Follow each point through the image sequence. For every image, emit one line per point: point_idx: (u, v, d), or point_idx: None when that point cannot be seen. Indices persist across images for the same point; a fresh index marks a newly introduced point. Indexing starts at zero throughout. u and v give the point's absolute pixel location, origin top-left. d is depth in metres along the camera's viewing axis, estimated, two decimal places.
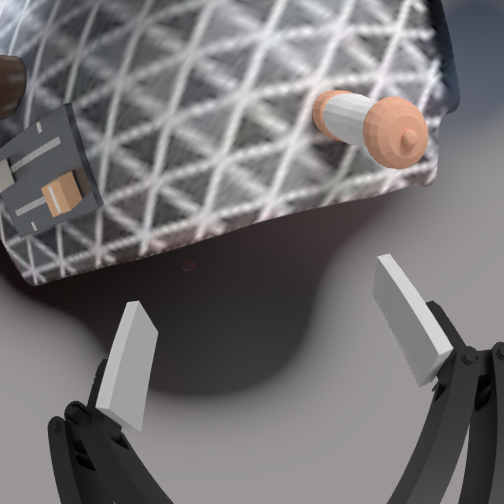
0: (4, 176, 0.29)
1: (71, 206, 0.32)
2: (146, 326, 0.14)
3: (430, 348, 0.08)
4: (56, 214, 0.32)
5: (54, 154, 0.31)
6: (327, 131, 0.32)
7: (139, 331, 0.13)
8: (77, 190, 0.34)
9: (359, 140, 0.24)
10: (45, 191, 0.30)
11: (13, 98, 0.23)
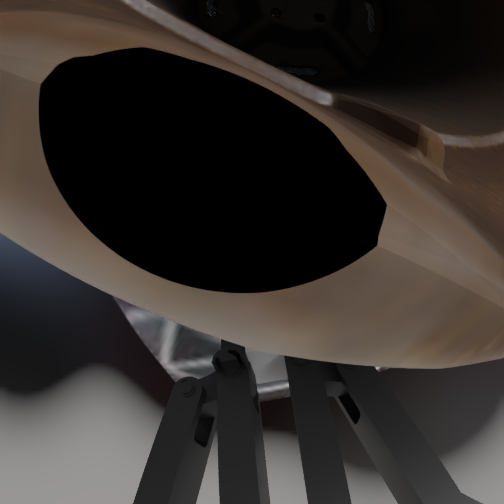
0: None
1: None
2: None
3: None
4: None
5: None
6: None
7: None
8: None
9: None
10: None
11: None
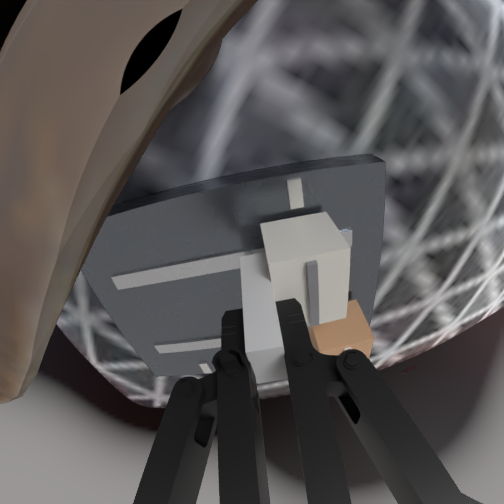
0: None
1: None
2: None
3: None
4: None
5: None
6: None
7: None
8: None
9: None
10: None
11: (202, 75, 0.11)
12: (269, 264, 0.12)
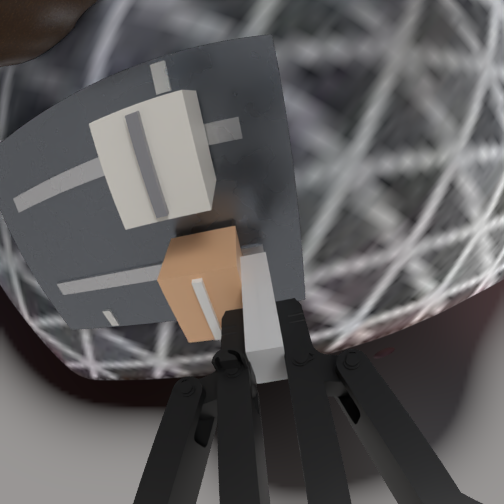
0: (204, 150, 0.11)
1: None
2: None
3: None
4: (202, 338, 0.15)
5: None
6: None
7: None
8: None
9: None
10: (174, 289, 0.13)
11: None
12: (90, 123, 0.08)
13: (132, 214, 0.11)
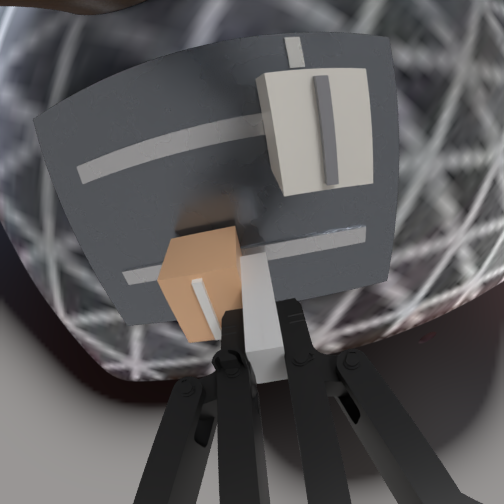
0: None
1: None
2: None
3: None
4: (202, 338, 0.15)
5: None
6: None
7: None
8: None
9: None
10: (174, 289, 0.13)
11: None
12: (266, 73, 0.08)
13: (297, 179, 0.10)
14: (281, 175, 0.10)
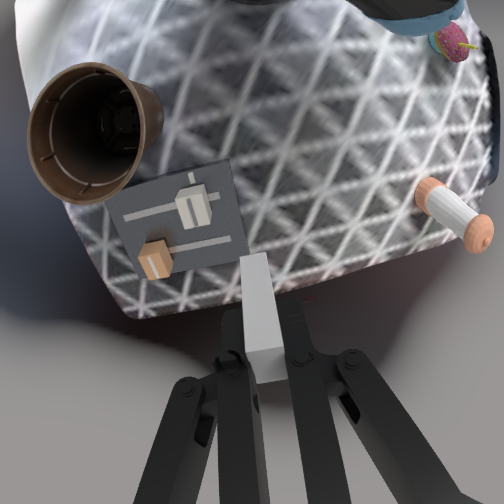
0: (207, 205, 0.40)
1: (169, 272, 0.45)
2: None
3: None
4: (153, 278, 0.44)
5: None
6: (426, 211, 0.44)
7: None
8: (169, 256, 0.46)
9: (456, 232, 0.36)
10: (142, 260, 0.42)
11: (155, 139, 0.35)
12: (175, 199, 0.37)
13: (187, 225, 0.39)
14: (183, 224, 0.39)
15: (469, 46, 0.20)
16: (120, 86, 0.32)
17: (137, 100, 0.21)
